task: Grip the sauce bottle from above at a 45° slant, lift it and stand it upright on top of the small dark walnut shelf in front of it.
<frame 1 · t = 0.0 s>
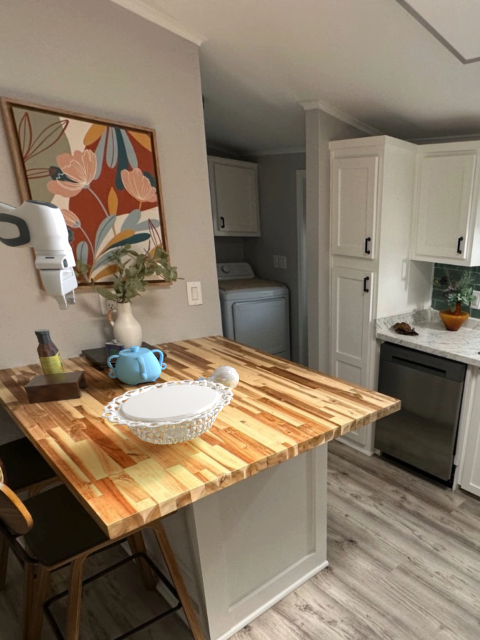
hand: (68, 306, 127), 32 cm above the breakfast bar, tool pointing down, fingers open, 8 cm apart
white lattice bowl: (179, 441, 116), on the breakfast bar
shelf: (60, 394, 143), on the breakfast bar
potion bottle: (219, 392, 150), on the breakfast bar
sauce bottle: (57, 382, 154), on the breakfast bar
decorative pot: (140, 380, 159), on the breakfast bar
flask: (119, 364, 175), on the breakfast bar
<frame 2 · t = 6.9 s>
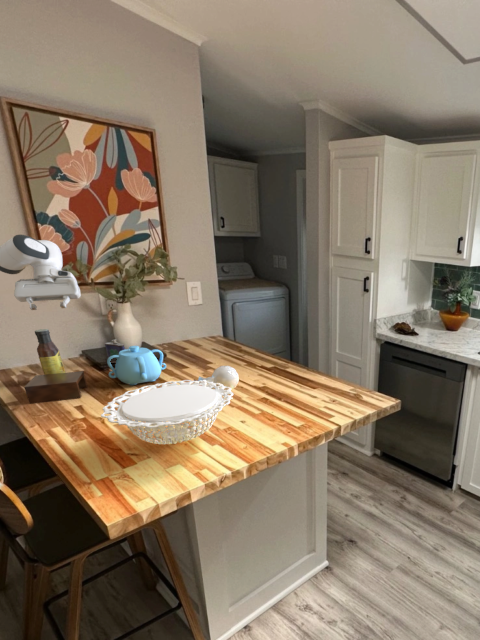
hand: (48, 308, 156), 25 cm above the breakfast bar, tool tilted 45°, fingers open, 8 cm apart
nothing on the breakfast bar moved.
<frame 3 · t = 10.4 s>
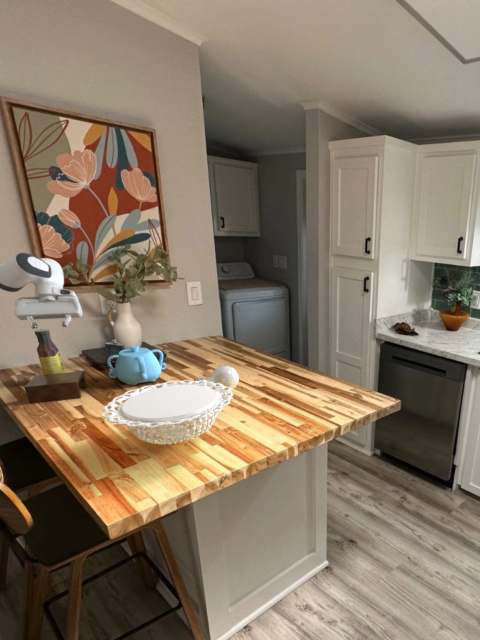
hand: (49, 326, 154), 19 cm above the breakfast bar, tool tilted 45°, fingers open, 8 cm apart
nothing on the breakfast bar moved.
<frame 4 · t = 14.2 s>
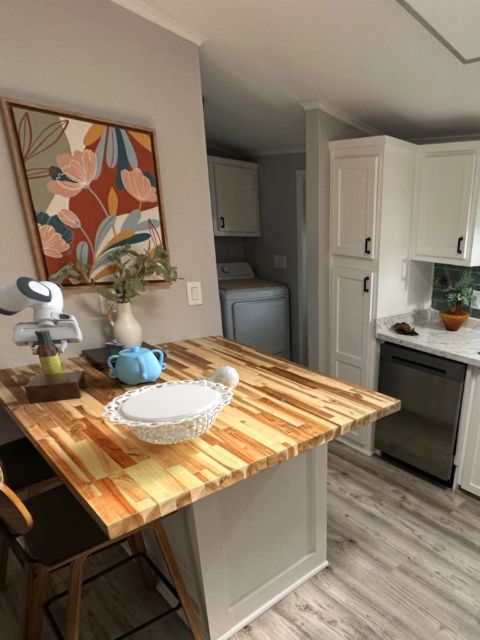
hand: (48, 353, 149), 11 cm above the breakfast bar, tool tilted 45°, fingers closed on sauce bottle, 6 cm apart
sauce bottle: (57, 382, 154), on the breakfast bar, touching gripper
everything else where it was.
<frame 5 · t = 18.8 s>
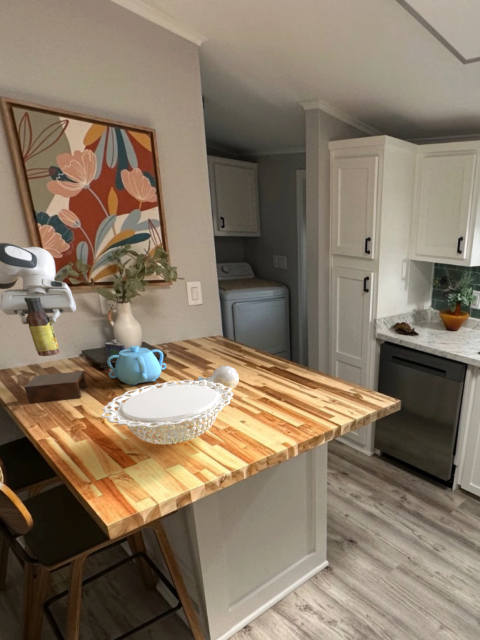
hand: (39, 322, 139), 24 cm above the breakfast bar, tool tilted 45°, fingers closed on sauce bottle, 6 cm apart
sauce bottle: (48, 354, 144), point 13 cm above the breakfast bar, touching gripper
everything else where it was.
when the fingers open (17 cm above the breakfast bar, at t = 23.9 s): sauce bottle stays where it is, resting on shelf.
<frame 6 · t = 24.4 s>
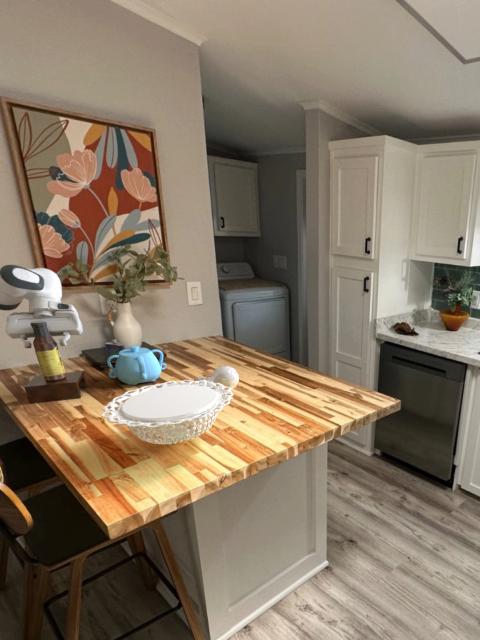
hand: (45, 346, 136), 18 cm above the breakfast bar, tool tilted 45°, fingers open, 8 cm apart
sauce bottle: (55, 379, 141), point 6 cm above the breakfast bar, touching shelf
everything else where it was.
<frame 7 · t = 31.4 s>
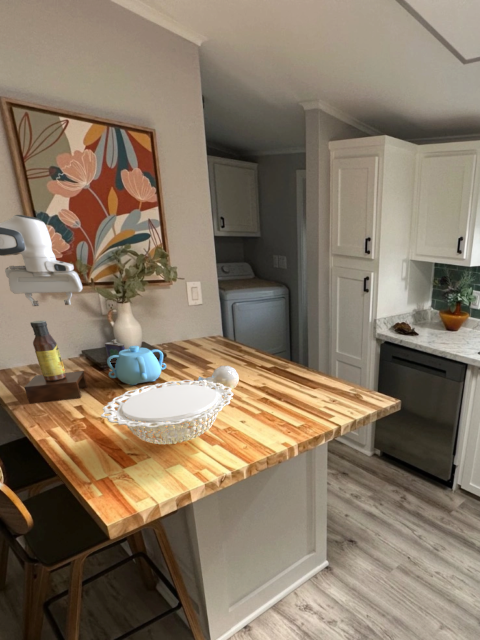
hand: (52, 305, 148), 28 cm above the breakfast bar, tool pointing down, fingers open, 8 cm apart
nothing on the breakfast bar moved.
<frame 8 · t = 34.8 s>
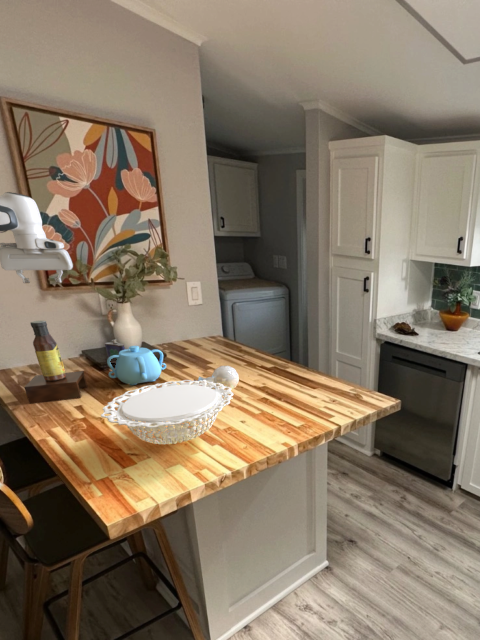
hand: (43, 282, 151), 35 cm above the breakfast bar, tool pointing down, fingers open, 8 cm apart
nothing on the breakfast bar moved.
at the end: sauce bottle inside the target area on the shelf (0.1 cm from its centre), point 5.8 cm above the shelf's base; sauce bottle tilted 0°; the gripper is holding nothing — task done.
